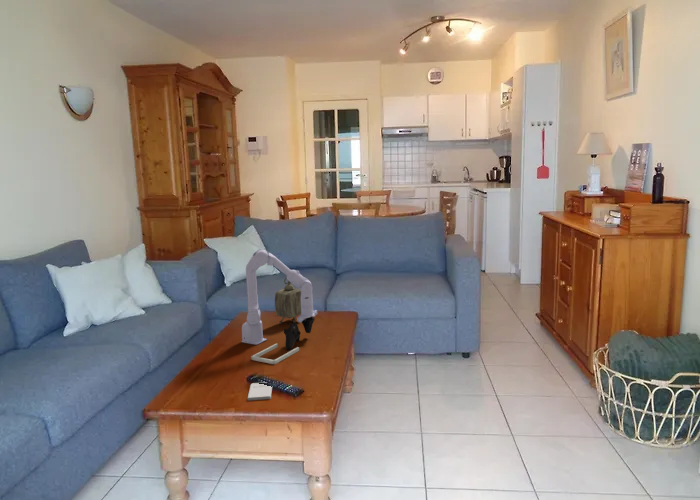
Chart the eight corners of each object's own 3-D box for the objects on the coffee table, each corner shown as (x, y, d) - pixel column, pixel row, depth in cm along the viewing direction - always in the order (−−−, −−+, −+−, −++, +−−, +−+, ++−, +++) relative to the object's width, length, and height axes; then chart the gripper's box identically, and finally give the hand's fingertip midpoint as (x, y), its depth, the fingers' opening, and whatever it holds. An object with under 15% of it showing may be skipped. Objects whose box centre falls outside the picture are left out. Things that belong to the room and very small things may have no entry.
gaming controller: (295, 351, 232) (294, 329, 230) (282, 350, 233) (281, 329, 231) (304, 340, 245) (303, 320, 244) (292, 340, 247) (290, 320, 245)
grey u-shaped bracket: (251, 359, 223) (251, 356, 223) (276, 346, 238) (276, 343, 238) (274, 364, 217) (274, 361, 217) (299, 350, 232) (299, 347, 232)
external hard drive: (247, 402, 185) (251, 387, 197) (270, 400, 185) (272, 385, 197) (247, 397, 184) (250, 383, 196) (270, 396, 185) (272, 381, 197)
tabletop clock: (294, 317, 283) (292, 272, 279) (307, 319, 278) (304, 274, 274) (275, 324, 272) (273, 277, 268) (288, 327, 266) (286, 279, 262)
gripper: (305, 310, 239) (306, 338, 241) (322, 302, 251) (323, 329, 254) (292, 308, 242) (294, 336, 245) (310, 300, 255) (311, 327, 257)
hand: (308, 332), depth 249 cm, fingers closed
